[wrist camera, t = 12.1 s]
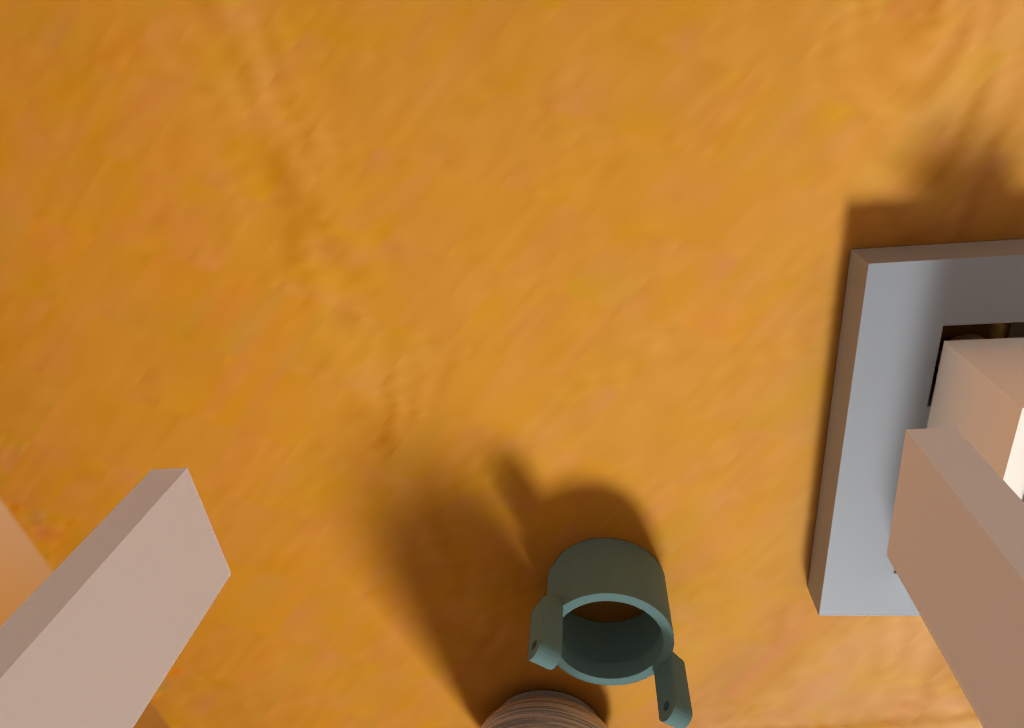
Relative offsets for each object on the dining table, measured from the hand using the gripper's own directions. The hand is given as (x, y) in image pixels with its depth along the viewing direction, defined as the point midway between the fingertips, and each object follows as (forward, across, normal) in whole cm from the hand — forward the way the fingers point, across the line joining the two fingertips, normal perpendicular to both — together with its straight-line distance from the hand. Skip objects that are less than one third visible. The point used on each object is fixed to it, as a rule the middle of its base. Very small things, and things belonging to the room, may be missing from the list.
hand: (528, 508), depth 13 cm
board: (+26, +21, -17) cm, 38 cm away
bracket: (+26, 0, -28) cm, 39 cm away
